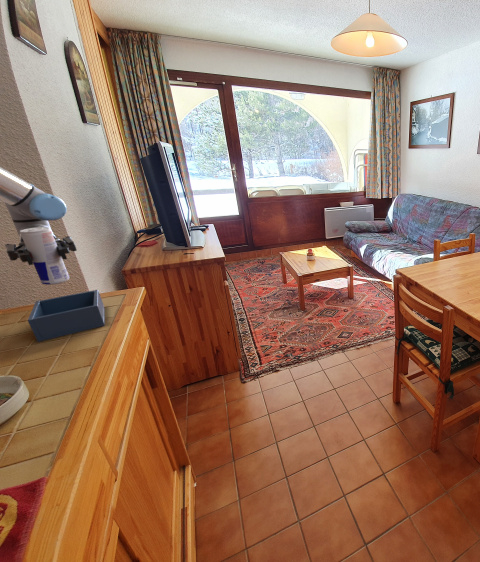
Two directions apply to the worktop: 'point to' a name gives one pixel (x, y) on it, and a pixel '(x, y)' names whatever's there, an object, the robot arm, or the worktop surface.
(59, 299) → the tote
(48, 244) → the beverage can
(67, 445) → the worktop surface
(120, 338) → the worktop surface
